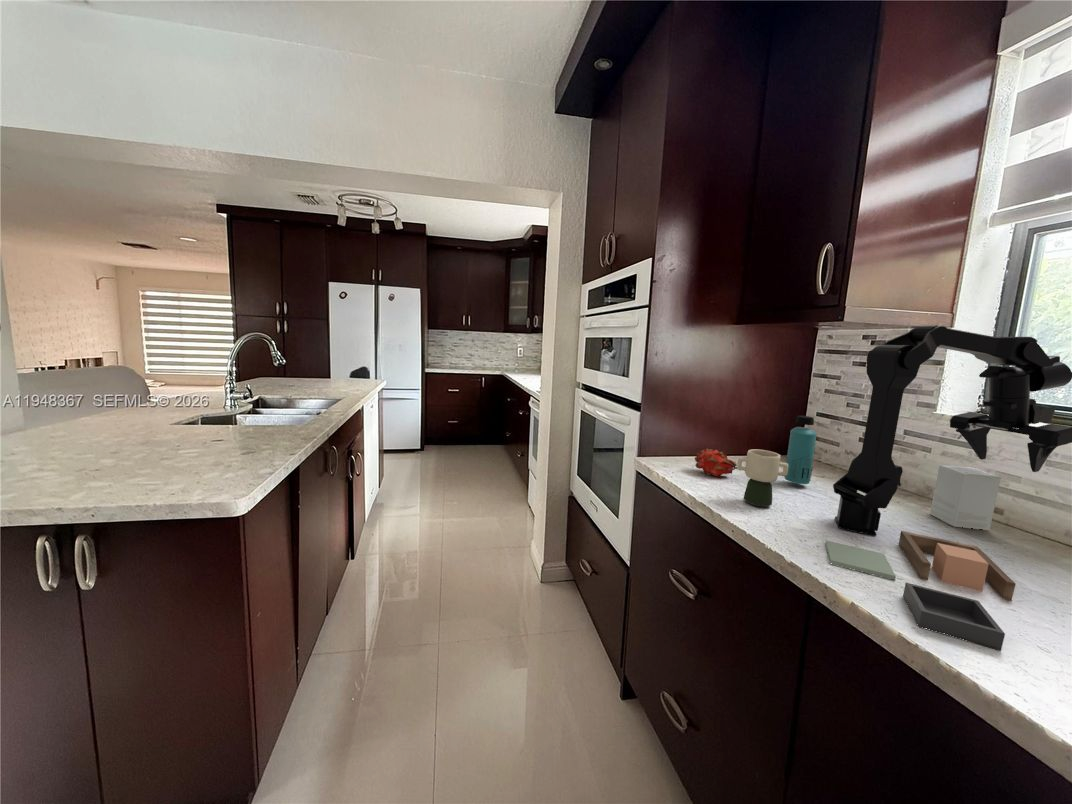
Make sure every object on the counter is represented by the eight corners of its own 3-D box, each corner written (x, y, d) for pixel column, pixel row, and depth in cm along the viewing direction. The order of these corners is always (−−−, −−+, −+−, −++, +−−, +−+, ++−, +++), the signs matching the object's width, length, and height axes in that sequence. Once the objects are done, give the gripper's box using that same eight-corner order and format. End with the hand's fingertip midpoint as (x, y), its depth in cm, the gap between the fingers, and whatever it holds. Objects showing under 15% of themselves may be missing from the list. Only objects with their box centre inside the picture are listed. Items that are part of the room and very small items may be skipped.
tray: (918, 626, 58) (921, 610, 57) (902, 596, 65) (905, 582, 64) (1000, 650, 54) (1005, 633, 53) (974, 616, 61) (978, 600, 60)
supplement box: (991, 531, 91) (1003, 476, 89) (952, 526, 93) (963, 473, 91) (964, 517, 98) (975, 467, 96) (928, 513, 100) (938, 463, 98)
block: (941, 582, 70) (947, 554, 69) (931, 568, 74) (937, 542, 73) (982, 592, 67) (988, 563, 67) (969, 577, 72) (975, 550, 71)
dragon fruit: (690, 474, 127) (731, 489, 121) (689, 464, 120) (732, 479, 114) (699, 450, 129) (739, 463, 123) (698, 439, 122) (741, 452, 116)
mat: (830, 564, 74) (831, 560, 74) (825, 543, 81) (825, 540, 81) (894, 580, 69) (895, 576, 69) (882, 557, 77) (883, 553, 77)
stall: (919, 578, 70) (923, 562, 70) (898, 544, 83) (901, 530, 82) (1011, 600, 65) (1015, 583, 65) (974, 561, 77) (977, 546, 77)
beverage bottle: (799, 490, 112) (810, 419, 109) (777, 482, 118) (786, 414, 115) (815, 488, 115) (826, 418, 112) (792, 480, 121) (802, 413, 118)
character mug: (779, 502, 102) (786, 452, 100) (785, 513, 96) (793, 460, 94) (731, 495, 106) (737, 446, 104) (734, 505, 100) (740, 453, 98)
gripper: (1106, 393, 79) (1102, 470, 81) (989, 384, 97) (988, 447, 99) (1056, 404, 78) (1053, 482, 80) (947, 393, 96) (948, 456, 98)
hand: (1007, 465), depth 89 cm, fingers open, 9 cm apart
